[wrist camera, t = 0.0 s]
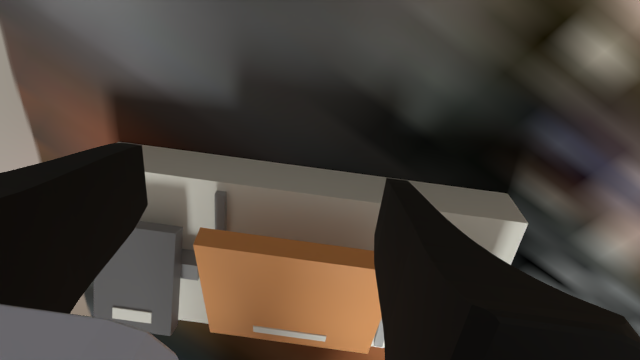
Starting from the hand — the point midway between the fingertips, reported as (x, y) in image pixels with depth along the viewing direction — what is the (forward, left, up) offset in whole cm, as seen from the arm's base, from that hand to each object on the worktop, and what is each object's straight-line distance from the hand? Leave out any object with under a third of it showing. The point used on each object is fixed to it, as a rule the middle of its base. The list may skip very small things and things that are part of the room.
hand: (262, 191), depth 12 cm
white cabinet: (-9, -1, -10) cm, 14 cm away
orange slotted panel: (-9, -1, -5) cm, 10 cm away
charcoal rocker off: (-9, +7, -5) cm, 12 cm away
